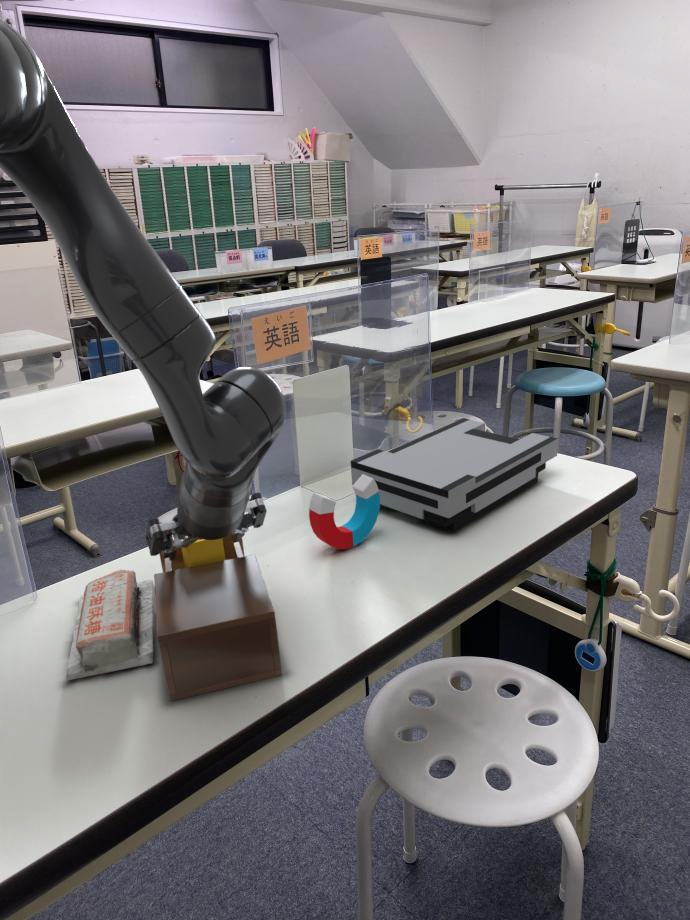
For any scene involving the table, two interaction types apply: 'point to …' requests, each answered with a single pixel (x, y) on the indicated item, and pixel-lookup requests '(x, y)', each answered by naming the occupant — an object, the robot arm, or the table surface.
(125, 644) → the packaged product
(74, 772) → the table surface
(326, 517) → the magnet
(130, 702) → the table surface
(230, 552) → the drawer
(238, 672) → the cabinet
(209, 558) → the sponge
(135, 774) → the table surface
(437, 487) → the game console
